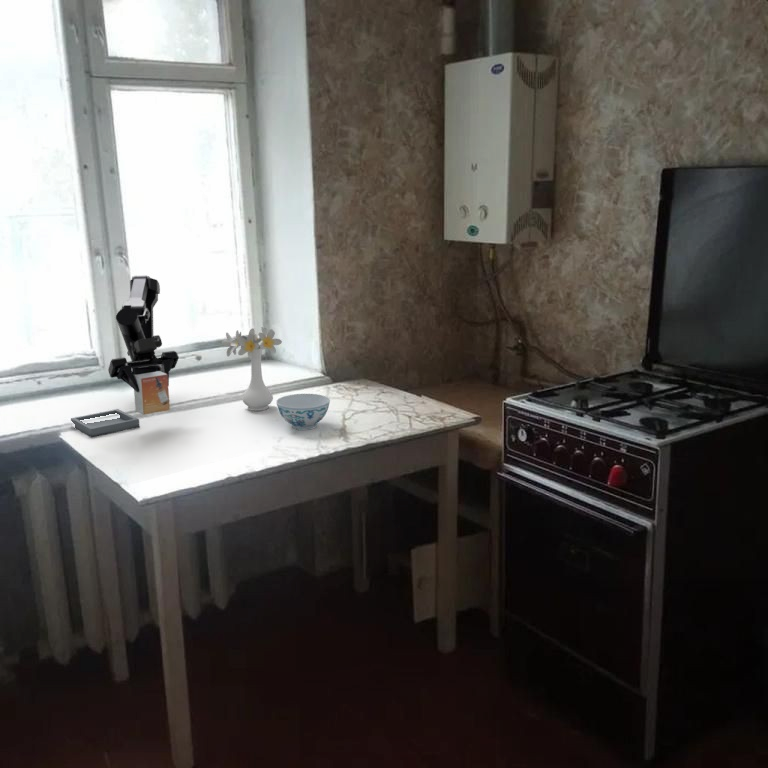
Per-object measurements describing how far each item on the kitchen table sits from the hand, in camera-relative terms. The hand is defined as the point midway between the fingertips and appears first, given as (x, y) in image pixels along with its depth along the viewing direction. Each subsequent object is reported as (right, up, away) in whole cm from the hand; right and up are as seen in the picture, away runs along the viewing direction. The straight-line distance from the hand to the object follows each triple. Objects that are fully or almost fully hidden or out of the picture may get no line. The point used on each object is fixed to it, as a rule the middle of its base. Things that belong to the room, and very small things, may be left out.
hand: (153, 388), depth 223 cm
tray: (-16, -11, +7) cm, 20 cm away
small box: (-1, -6, +3) cm, 7 cm away
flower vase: (+24, -6, +24) cm, 35 cm away
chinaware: (+41, -11, +6) cm, 43 cm away
